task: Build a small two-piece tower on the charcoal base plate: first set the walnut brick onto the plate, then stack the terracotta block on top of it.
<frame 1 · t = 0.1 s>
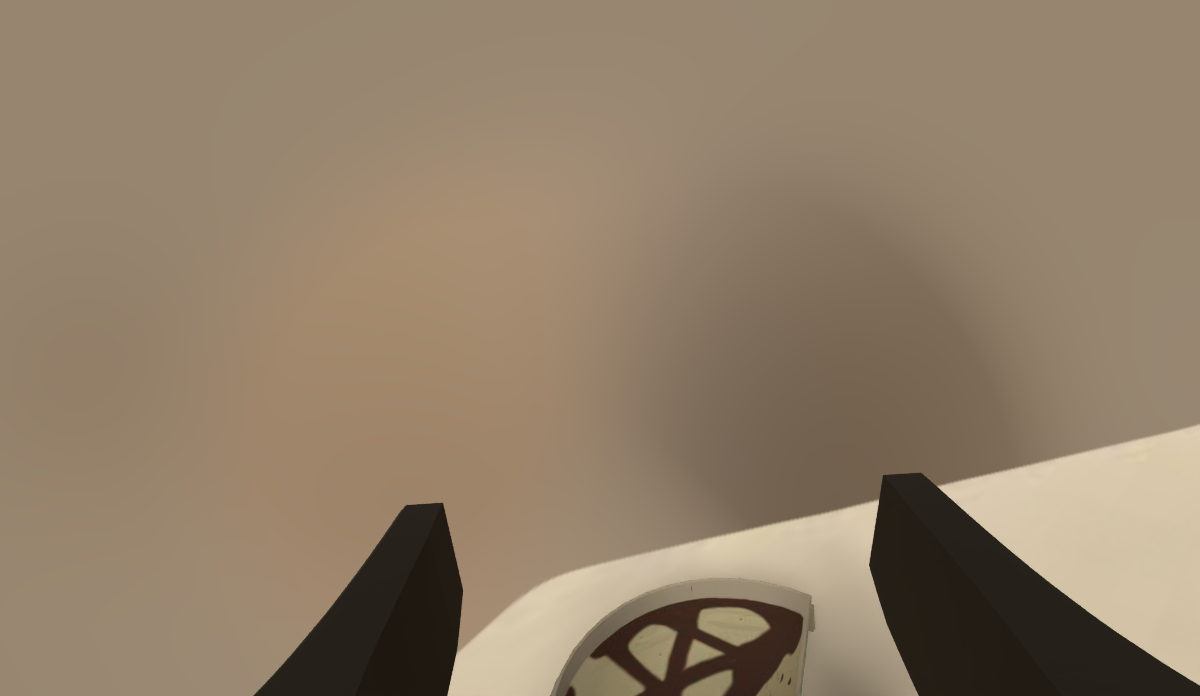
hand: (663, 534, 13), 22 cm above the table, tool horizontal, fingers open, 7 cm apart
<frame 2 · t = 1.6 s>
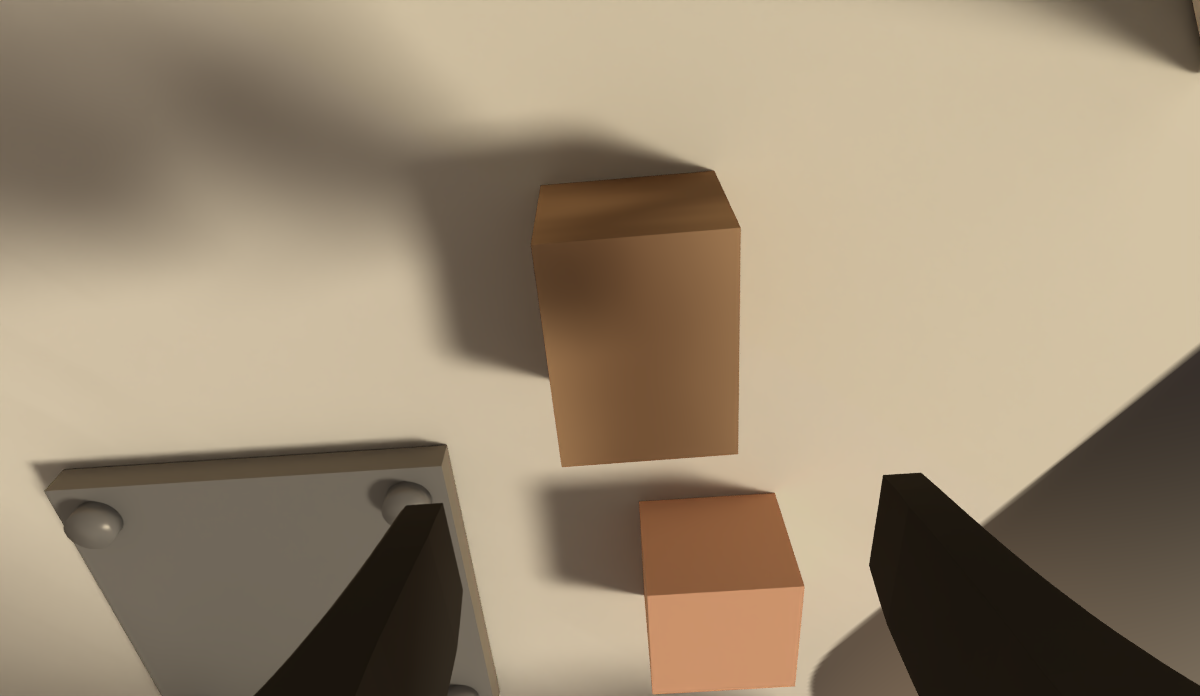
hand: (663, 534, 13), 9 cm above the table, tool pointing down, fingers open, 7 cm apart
terracotta block: (706, 544, 26), on the table
walnut brick: (633, 282, 21), on the table
base plate: (305, 592, 27), on the table
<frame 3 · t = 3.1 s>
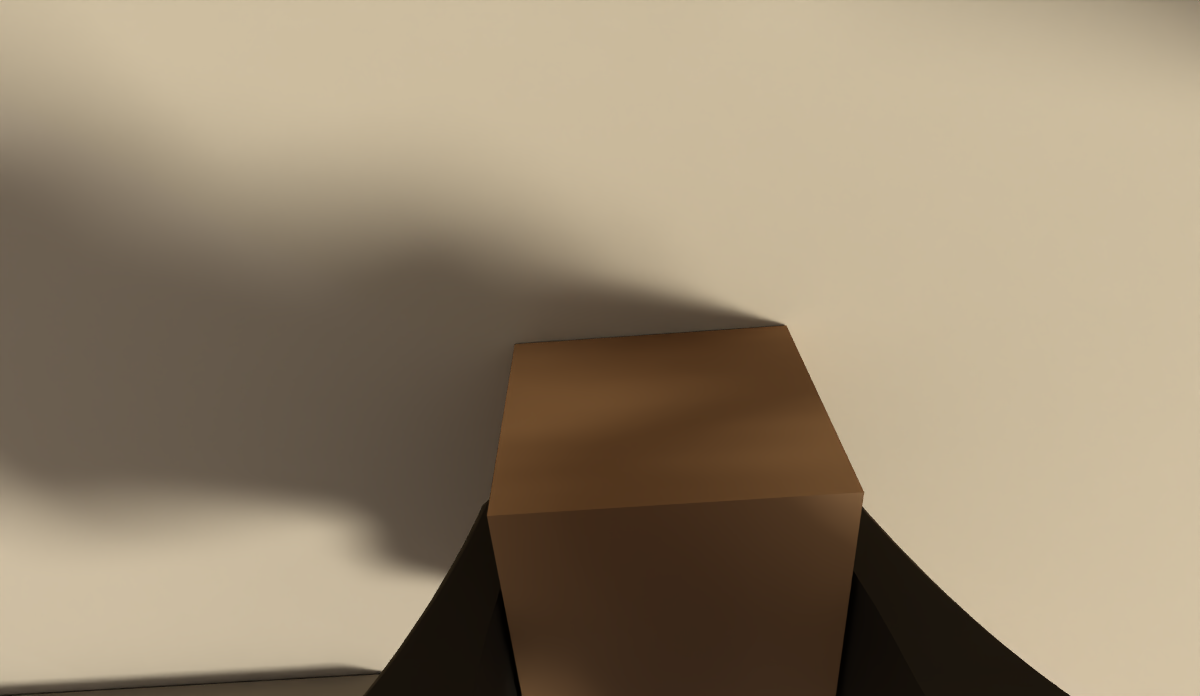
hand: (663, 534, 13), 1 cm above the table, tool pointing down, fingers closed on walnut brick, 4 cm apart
walnut brick: (656, 477, 14), on the table, touching gripper
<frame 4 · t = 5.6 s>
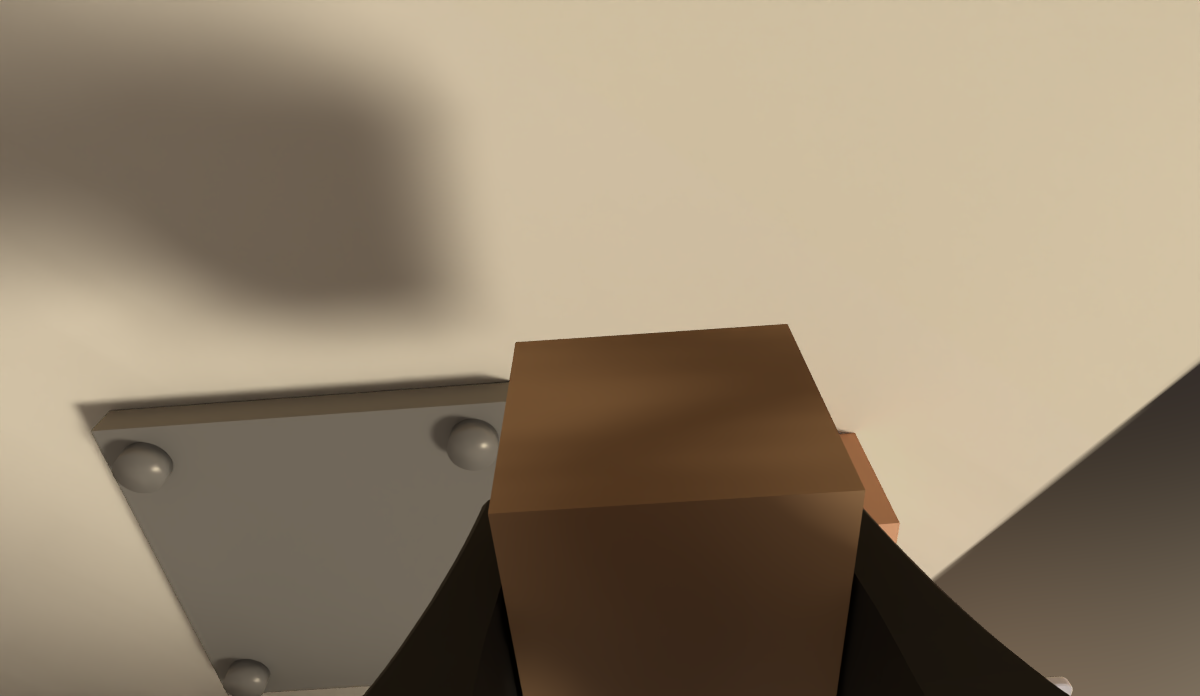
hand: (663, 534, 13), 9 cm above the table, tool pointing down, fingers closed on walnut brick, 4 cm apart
terracotta block: (779, 490, 25), on the table
walnut brick: (656, 476, 14), point 8 cm above the table, touching gripper
base plate: (358, 544, 25), on the table
when the fingers open (3 cm above the table, at t = 8.3 s): walnut brick stays where it is, resting on base plate.
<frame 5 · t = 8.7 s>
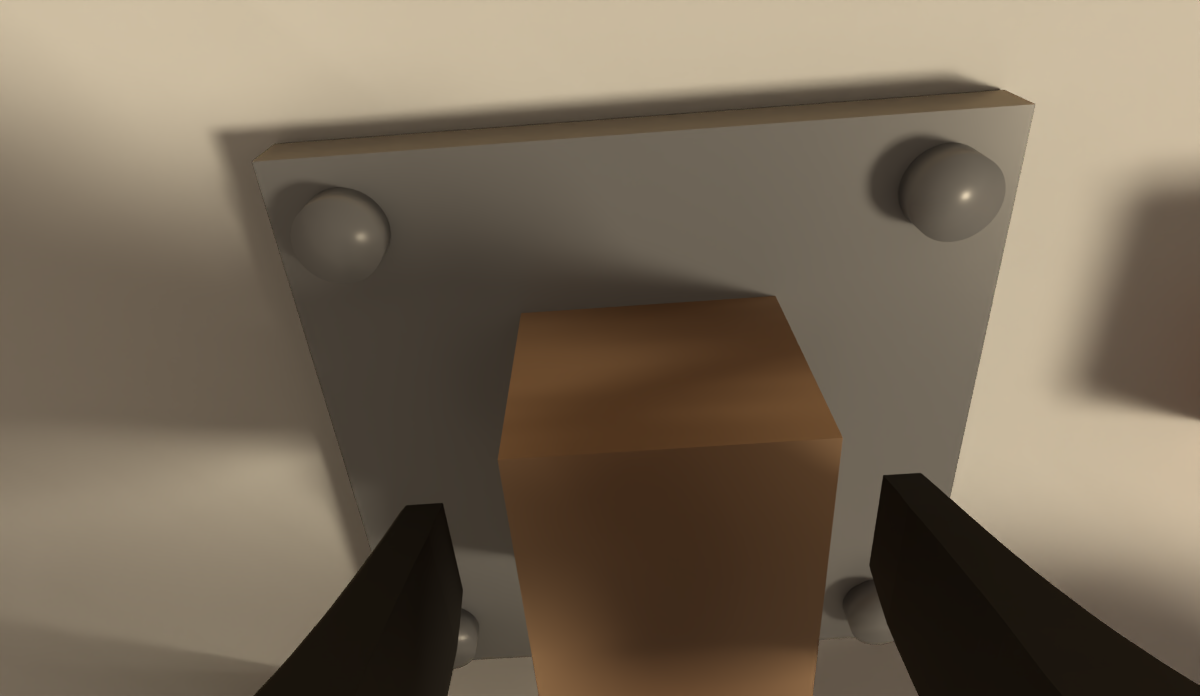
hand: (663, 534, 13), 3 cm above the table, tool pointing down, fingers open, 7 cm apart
walnut brick: (653, 442, 15), point 1 cm above the table, touching base plate
base plate: (648, 414, 16), on the table
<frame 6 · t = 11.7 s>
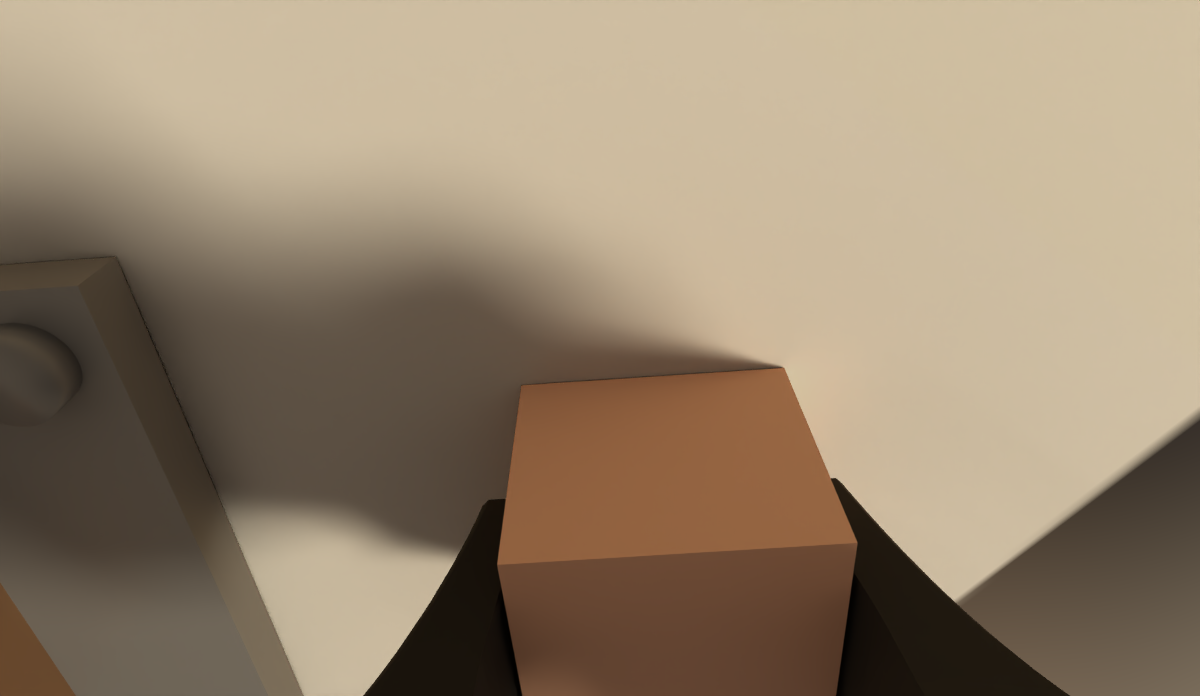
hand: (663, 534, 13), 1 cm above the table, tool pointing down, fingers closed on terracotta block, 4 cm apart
terracotta block: (656, 478, 14), on the table, touching gripper
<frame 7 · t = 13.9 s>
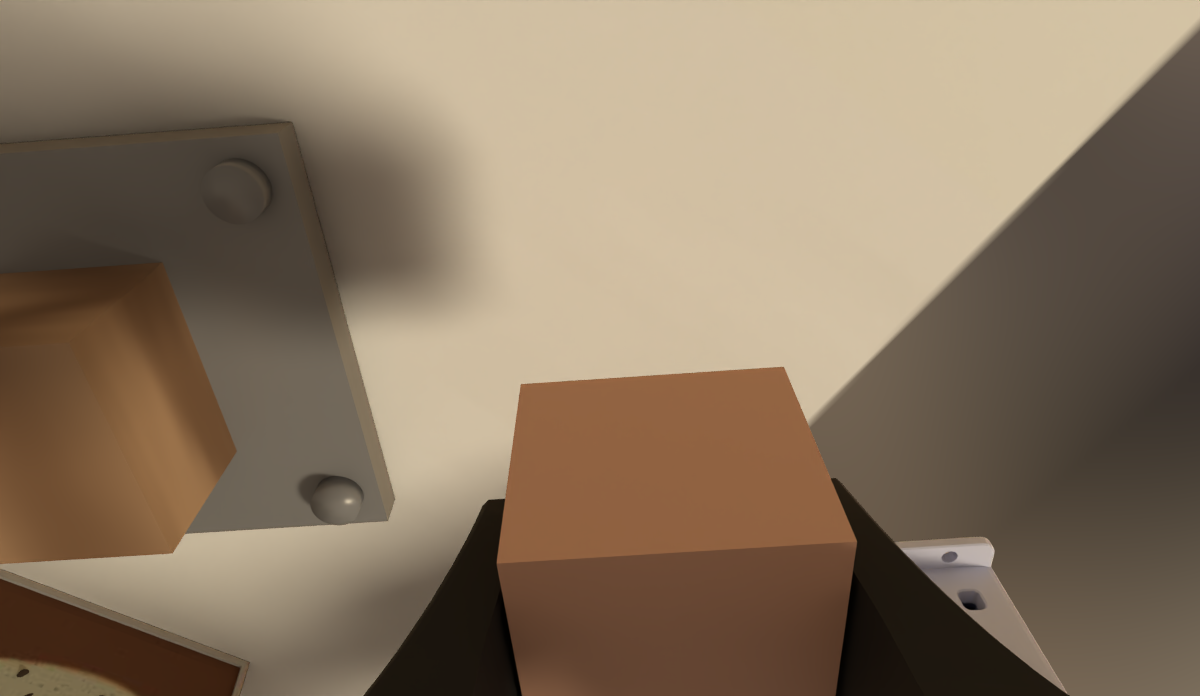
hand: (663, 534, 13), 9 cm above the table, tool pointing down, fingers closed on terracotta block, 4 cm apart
terracotta block: (656, 477, 14), point 8 cm above the table, touching gripper
food container: (100, 657, 28), on the table
walnut brick: (122, 369, 21), point 1 cm above the table, touching base plate
base plate: (140, 351, 22), on the table
when the fingers open (7 cm above the table, at t = 16.2 s): terracotta block stays where it is, resting on walnut brick.
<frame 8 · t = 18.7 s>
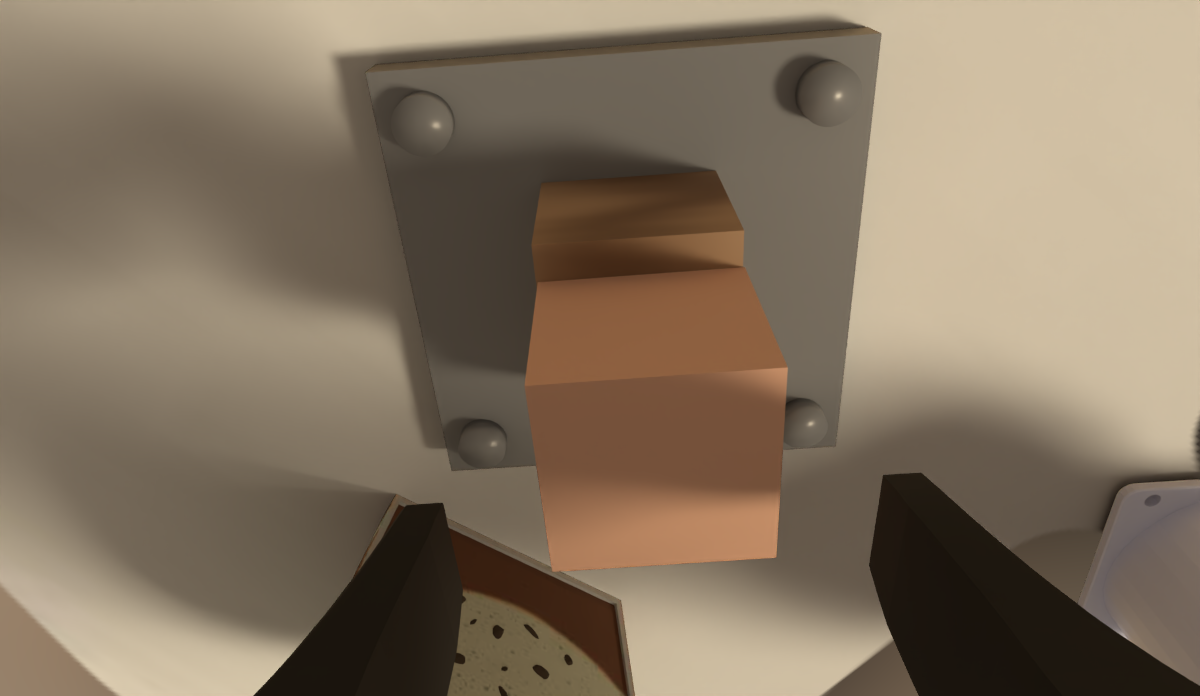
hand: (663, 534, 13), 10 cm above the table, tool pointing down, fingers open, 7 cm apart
terracotta block: (645, 362, 17), point 5 cm above the table, touching walnut brick
food container: (471, 595, 29), on the table
walnut brick: (633, 284, 21), point 1 cm above the table, touching base plate, terracotta block
base plate: (631, 270, 22), on the table
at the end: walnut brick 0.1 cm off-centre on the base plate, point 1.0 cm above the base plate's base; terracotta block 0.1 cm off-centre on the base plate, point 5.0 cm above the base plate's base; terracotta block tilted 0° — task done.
